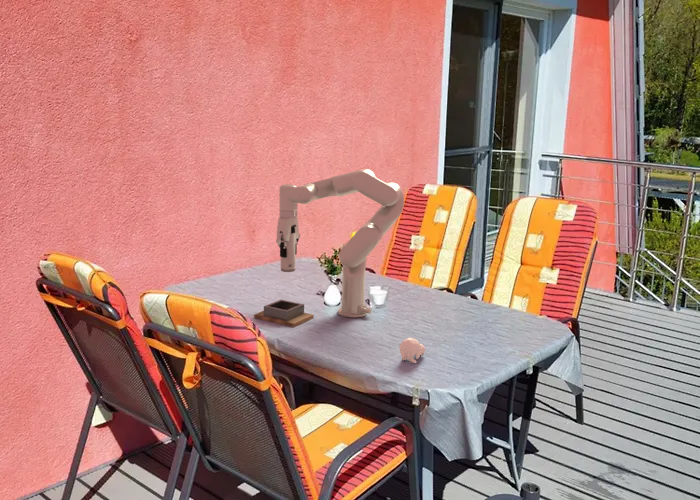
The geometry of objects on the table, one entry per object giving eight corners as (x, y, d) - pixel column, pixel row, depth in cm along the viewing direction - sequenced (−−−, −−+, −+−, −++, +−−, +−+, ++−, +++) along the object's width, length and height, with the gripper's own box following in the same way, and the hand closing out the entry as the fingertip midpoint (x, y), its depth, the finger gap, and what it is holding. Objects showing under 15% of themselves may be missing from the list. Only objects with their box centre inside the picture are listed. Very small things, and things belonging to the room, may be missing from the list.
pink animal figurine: (398, 337, 233) (416, 332, 243) (396, 361, 235) (414, 355, 244) (414, 341, 230) (431, 336, 239) (412, 366, 231) (429, 359, 241)
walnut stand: (313, 318, 279) (313, 314, 279) (294, 327, 267) (294, 323, 267) (274, 309, 289) (274, 306, 289) (254, 318, 277) (254, 314, 277)
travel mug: (293, 272, 285) (293, 226, 281) (278, 271, 286) (278, 225, 282) (297, 269, 291) (298, 223, 287) (283, 268, 292) (283, 222, 288)
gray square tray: (304, 313, 280) (304, 304, 279) (287, 321, 270) (287, 311, 269) (280, 308, 286) (280, 299, 285) (263, 315, 276) (263, 306, 275)
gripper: (293, 210, 292) (293, 251, 296) (268, 215, 278) (268, 258, 282) (307, 212, 289) (307, 253, 292) (283, 217, 274) (283, 260, 278)
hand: (288, 255), depth 287 cm, fingers closed on travel mug, 6 cm apart
